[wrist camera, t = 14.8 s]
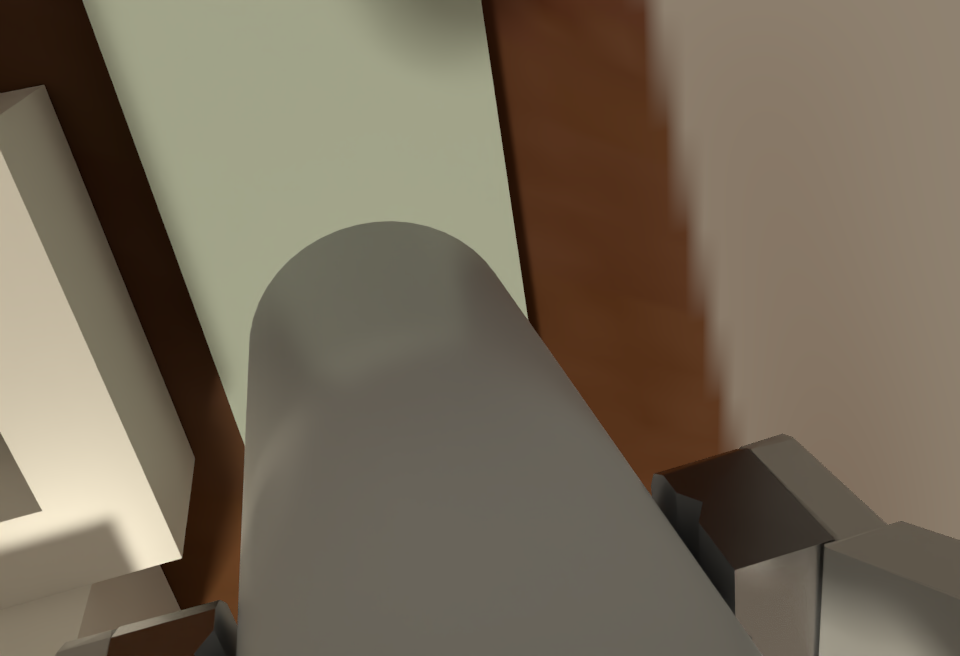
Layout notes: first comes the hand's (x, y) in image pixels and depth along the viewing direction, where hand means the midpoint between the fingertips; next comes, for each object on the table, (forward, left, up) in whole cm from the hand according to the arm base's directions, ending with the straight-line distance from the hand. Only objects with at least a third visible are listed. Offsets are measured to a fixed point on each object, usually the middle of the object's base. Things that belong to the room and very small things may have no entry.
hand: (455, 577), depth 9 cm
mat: (0, 0, -13) cm, 13 cm away
